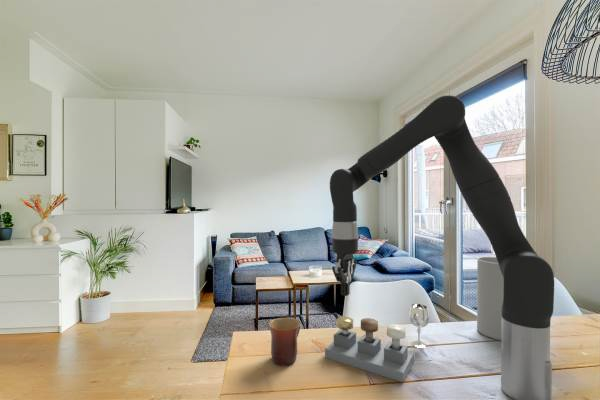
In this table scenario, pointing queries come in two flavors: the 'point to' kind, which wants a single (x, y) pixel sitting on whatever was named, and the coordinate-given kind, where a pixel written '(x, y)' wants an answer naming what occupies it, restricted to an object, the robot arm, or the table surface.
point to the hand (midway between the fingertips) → (345, 294)
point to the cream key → (396, 334)
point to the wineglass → (419, 321)
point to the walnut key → (369, 328)
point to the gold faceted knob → (345, 324)
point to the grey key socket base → (371, 355)
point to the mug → (284, 340)
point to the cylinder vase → (489, 297)
